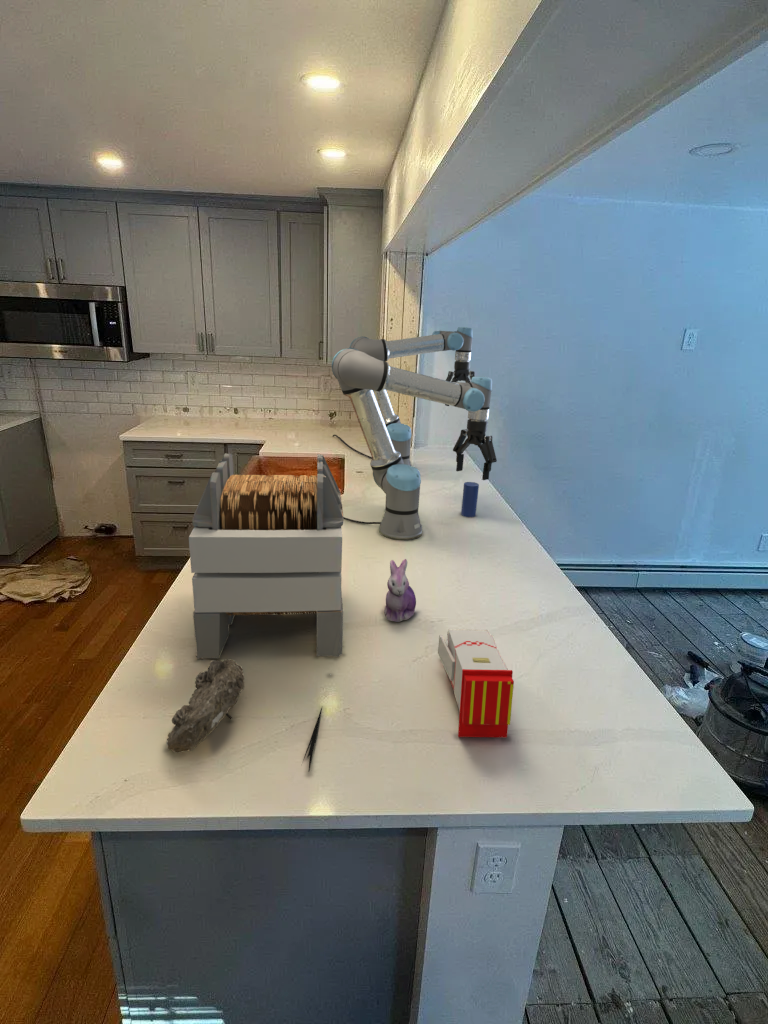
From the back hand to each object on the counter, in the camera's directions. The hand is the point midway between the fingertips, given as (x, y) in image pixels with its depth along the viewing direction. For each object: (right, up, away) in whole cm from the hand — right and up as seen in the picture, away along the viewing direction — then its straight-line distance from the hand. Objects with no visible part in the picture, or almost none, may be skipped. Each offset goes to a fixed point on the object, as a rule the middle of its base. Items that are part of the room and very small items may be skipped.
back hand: (458, 405), depth 280 cm
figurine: (-33, -79, -133) cm, 158 cm away
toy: (-19, -90, -162) cm, 186 cm away
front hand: (-3, -39, -64) cm, 75 cm away
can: (-4, -54, -58) cm, 80 cm away
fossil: (-70, -92, -172) cm, 207 cm away
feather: (-49, -93, -172) cm, 201 cm away
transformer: (-64, -80, -138) cm, 172 cm away
